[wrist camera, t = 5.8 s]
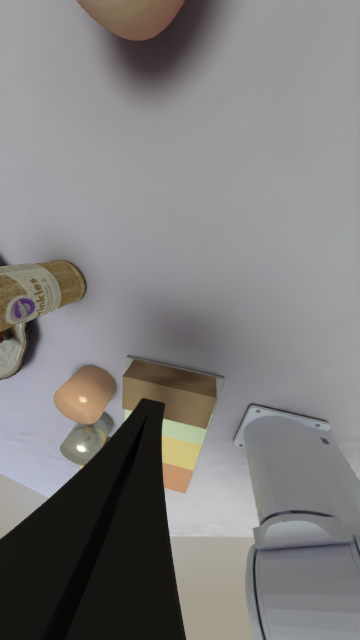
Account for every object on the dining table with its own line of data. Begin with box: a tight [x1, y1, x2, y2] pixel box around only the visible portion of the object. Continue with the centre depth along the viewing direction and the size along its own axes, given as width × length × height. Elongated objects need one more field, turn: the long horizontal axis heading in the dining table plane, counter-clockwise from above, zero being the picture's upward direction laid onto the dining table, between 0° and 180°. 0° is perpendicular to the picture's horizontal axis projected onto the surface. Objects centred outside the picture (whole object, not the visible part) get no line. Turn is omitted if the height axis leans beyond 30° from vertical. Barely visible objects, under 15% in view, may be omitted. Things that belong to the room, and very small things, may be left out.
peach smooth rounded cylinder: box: [54, 366, 117, 424], centre depth 22 cm, size 6×6×4 cm
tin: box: [60, 412, 114, 466], centre depth 25 cm, size 5×5×5 cm
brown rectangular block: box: [122, 359, 217, 429], centre depth 20 cm, size 10×5×3 cm, turn 81°
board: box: [125, 356, 224, 493], centre depth 26 cm, size 12×28×1 cm, turn 171°
